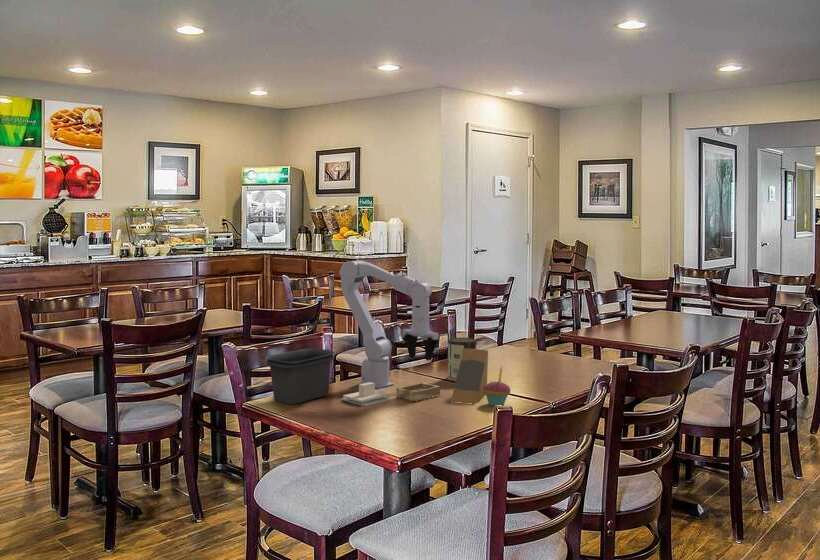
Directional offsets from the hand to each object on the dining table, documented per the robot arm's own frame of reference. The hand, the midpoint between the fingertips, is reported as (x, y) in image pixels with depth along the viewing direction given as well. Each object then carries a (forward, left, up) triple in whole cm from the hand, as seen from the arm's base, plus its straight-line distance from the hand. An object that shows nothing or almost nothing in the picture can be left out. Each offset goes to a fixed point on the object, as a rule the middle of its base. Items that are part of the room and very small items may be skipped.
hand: (420, 358), depth 250 cm
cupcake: (+31, +2, -11) cm, 33 cm away
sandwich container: (+20, +2, -11) cm, 23 cm away
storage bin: (-18, -37, -11) cm, 43 cm away
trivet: (-1, -24, -10) cm, 26 cm away
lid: (-1, -23, -9) cm, 25 cm away
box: (+7, -8, -10) cm, 15 cm away
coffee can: (-1, +23, -11) cm, 25 cm away
